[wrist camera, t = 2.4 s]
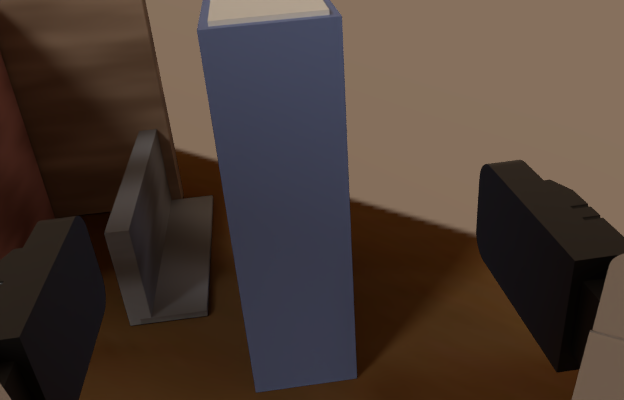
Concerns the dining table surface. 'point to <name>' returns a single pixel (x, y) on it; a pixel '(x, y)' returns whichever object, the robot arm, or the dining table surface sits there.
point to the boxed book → (285, 181)
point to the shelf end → (99, 148)
